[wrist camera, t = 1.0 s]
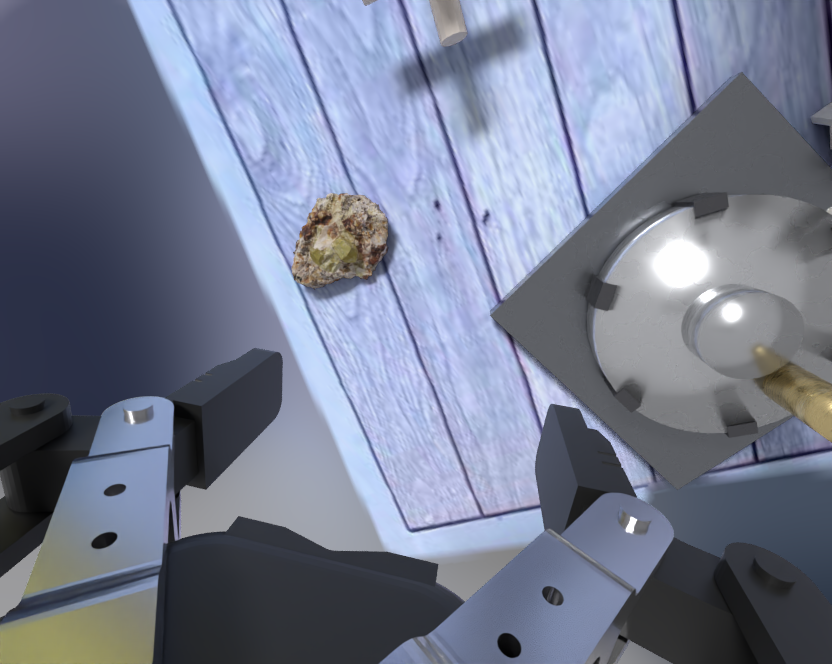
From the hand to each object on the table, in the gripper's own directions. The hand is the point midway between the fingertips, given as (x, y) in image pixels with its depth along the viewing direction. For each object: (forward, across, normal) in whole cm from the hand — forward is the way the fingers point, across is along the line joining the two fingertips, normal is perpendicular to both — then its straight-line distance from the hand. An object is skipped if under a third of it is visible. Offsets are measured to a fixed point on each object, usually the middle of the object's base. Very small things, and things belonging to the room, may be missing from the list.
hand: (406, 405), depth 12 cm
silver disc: (+24, -20, 0) cm, 32 cm away
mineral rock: (+27, +12, 0) cm, 29 cm away
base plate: (+26, -20, 0) cm, 33 cm away
